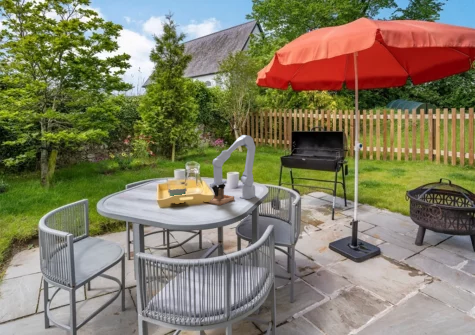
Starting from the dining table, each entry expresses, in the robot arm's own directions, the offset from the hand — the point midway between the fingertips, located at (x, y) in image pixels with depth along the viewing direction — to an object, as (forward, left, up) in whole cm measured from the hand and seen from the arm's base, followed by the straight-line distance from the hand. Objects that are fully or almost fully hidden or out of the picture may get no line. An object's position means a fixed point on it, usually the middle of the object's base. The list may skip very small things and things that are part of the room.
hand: (218, 195), depth 205 cm
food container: (+20, -19, -4) cm, 28 cm away
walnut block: (0, 0, -2) cm, 2 cm away
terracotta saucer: (0, 0, -4) cm, 4 cm away
